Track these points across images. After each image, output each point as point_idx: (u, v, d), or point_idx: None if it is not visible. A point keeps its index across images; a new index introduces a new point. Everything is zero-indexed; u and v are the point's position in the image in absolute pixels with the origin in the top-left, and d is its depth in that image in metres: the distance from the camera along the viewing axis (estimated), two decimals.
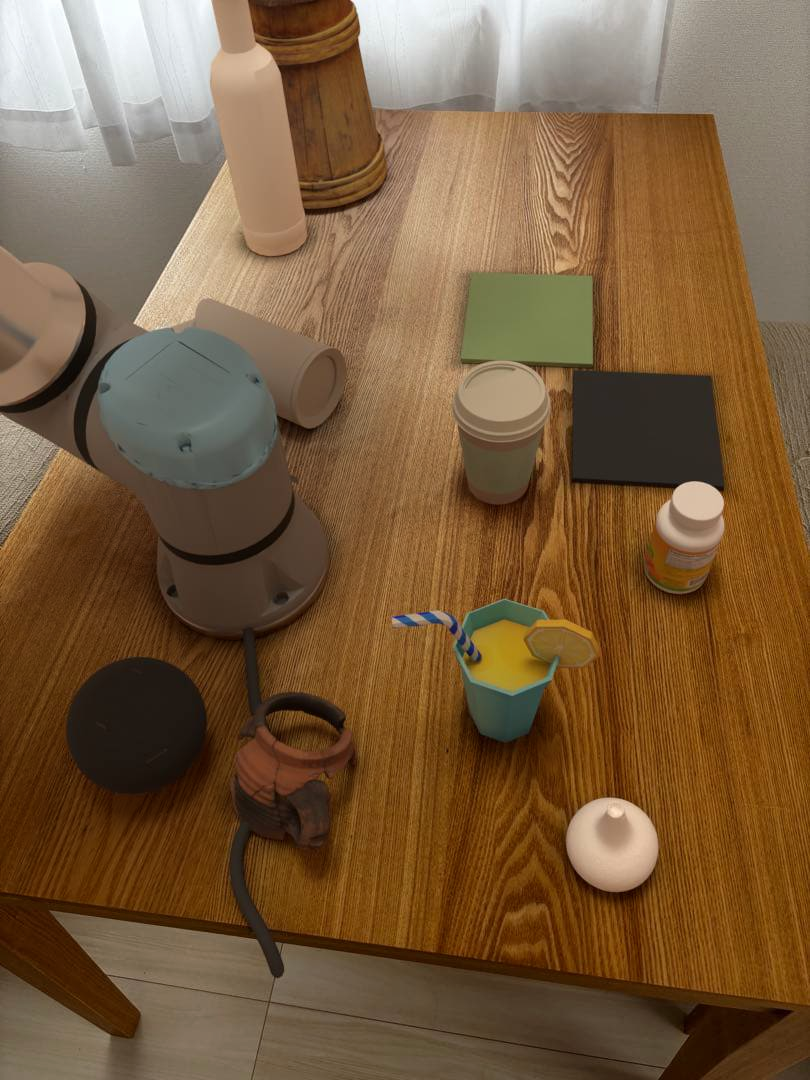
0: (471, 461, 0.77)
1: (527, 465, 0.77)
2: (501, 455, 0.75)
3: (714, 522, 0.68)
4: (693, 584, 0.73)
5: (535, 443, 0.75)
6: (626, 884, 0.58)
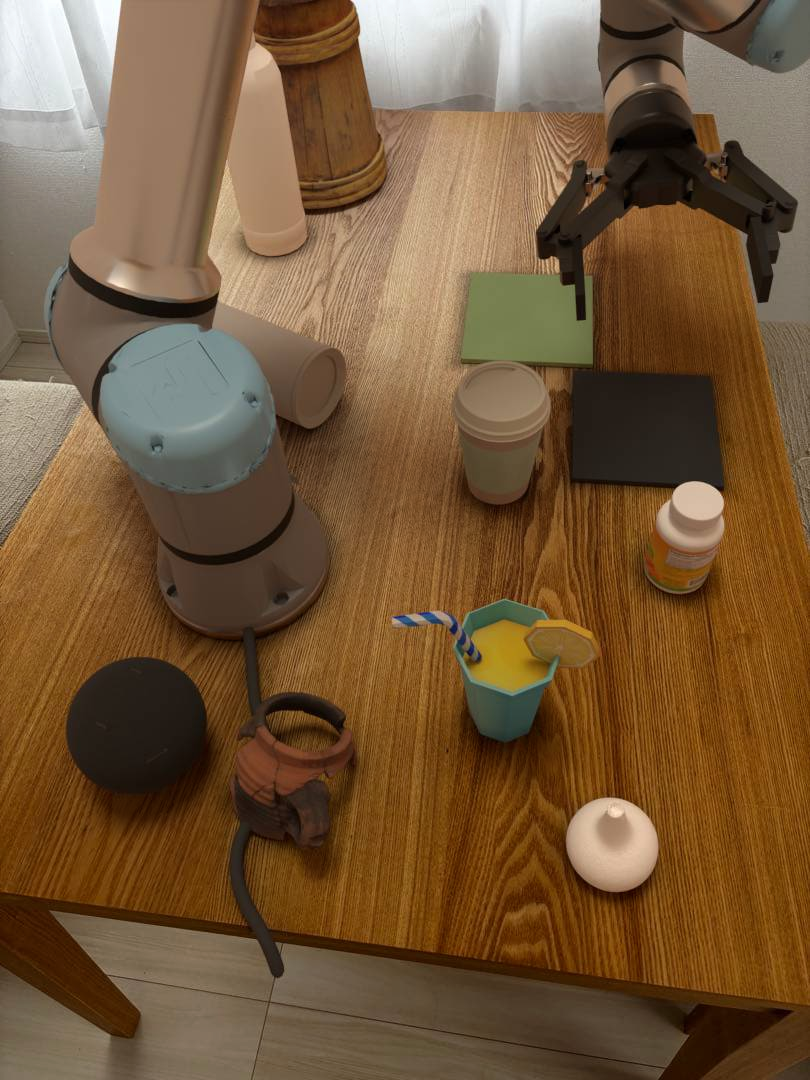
0: (471, 461, 0.77)
1: (527, 465, 0.77)
2: (501, 455, 0.75)
3: (714, 522, 0.68)
4: (693, 584, 0.73)
5: (535, 443, 0.75)
6: (626, 884, 0.58)
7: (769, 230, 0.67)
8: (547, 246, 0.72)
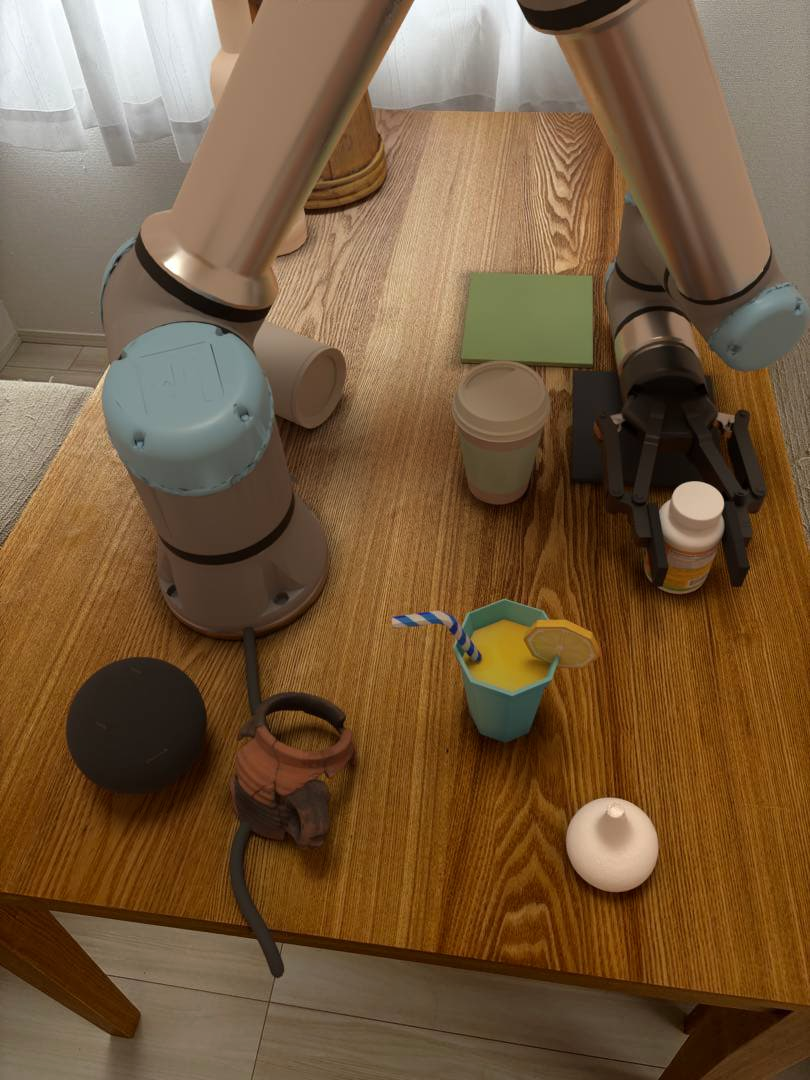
0: (471, 461, 0.77)
1: (527, 465, 0.77)
2: (501, 455, 0.75)
3: (714, 522, 0.68)
4: (693, 584, 0.73)
5: (535, 443, 0.75)
6: (626, 884, 0.58)
7: (741, 516, 0.70)
8: None
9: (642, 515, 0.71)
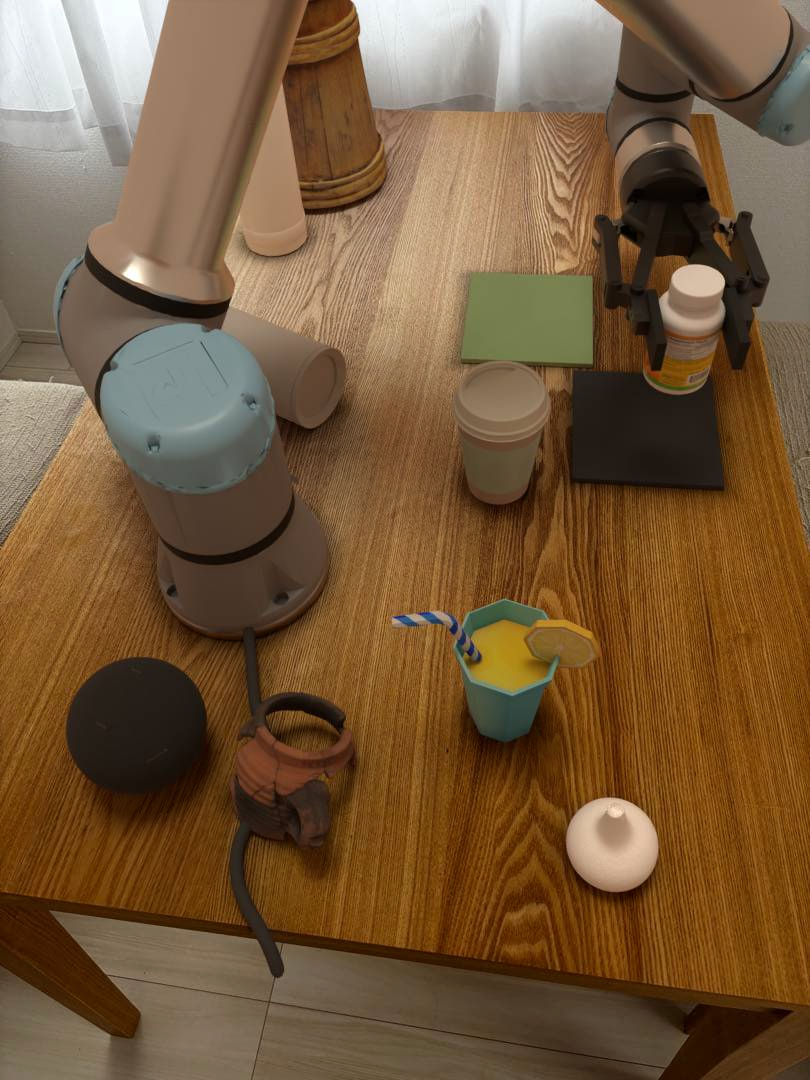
0: (471, 461, 0.77)
1: (527, 465, 0.77)
2: (501, 455, 0.75)
3: (714, 301, 0.66)
4: (693, 381, 0.71)
5: (535, 443, 0.75)
6: (626, 884, 0.58)
7: (743, 302, 0.68)
8: (621, 294, 0.70)
9: (641, 303, 0.69)
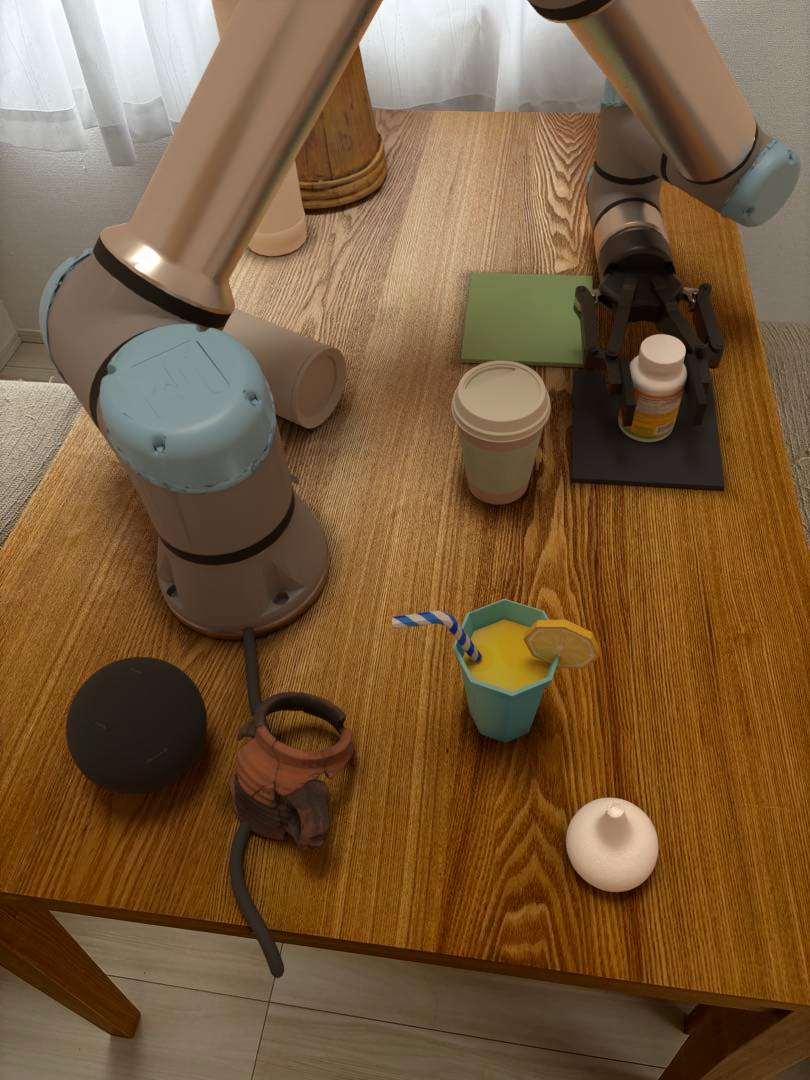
0: (471, 461, 0.77)
1: (527, 465, 0.77)
2: (501, 455, 0.75)
3: (677, 367, 0.77)
4: (661, 431, 0.83)
5: (535, 443, 0.75)
6: (626, 884, 0.58)
7: (702, 366, 0.80)
8: (598, 358, 0.82)
9: (614, 367, 0.80)
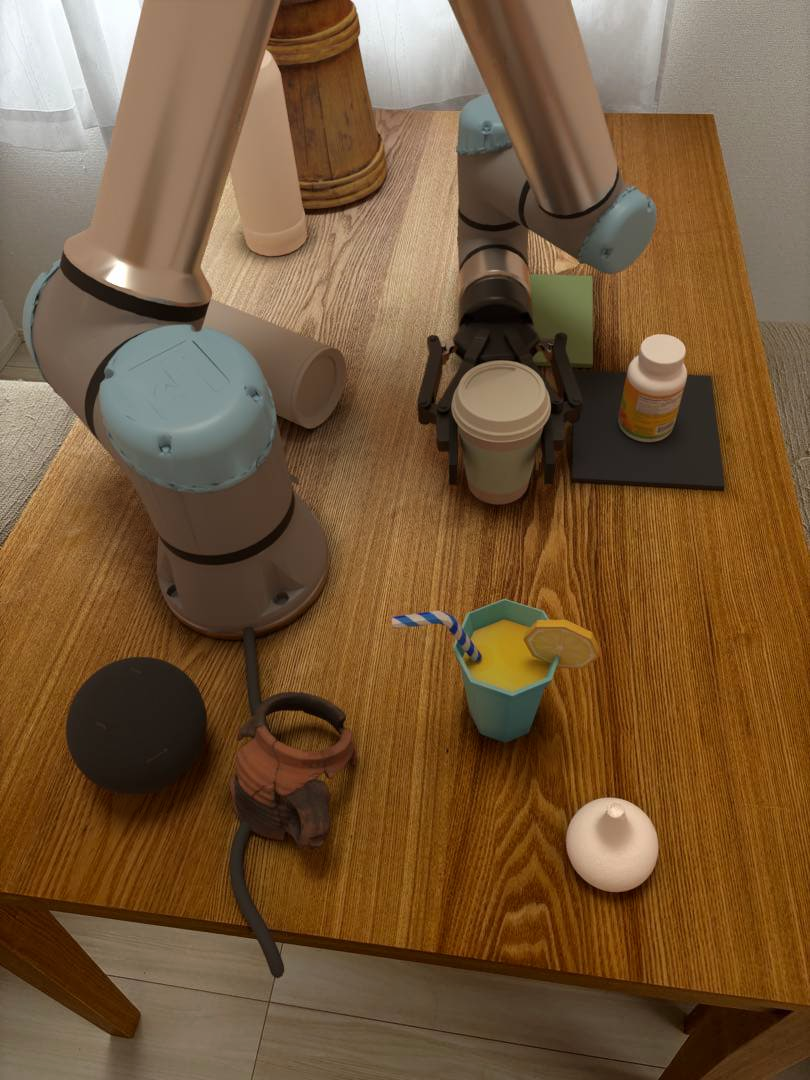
0: (471, 461, 0.77)
1: (527, 465, 0.77)
2: (501, 455, 0.75)
3: (677, 367, 0.77)
4: (661, 431, 0.83)
5: (535, 443, 0.75)
6: (626, 884, 0.58)
7: (557, 422, 0.77)
8: (429, 413, 0.79)
9: (444, 422, 0.78)
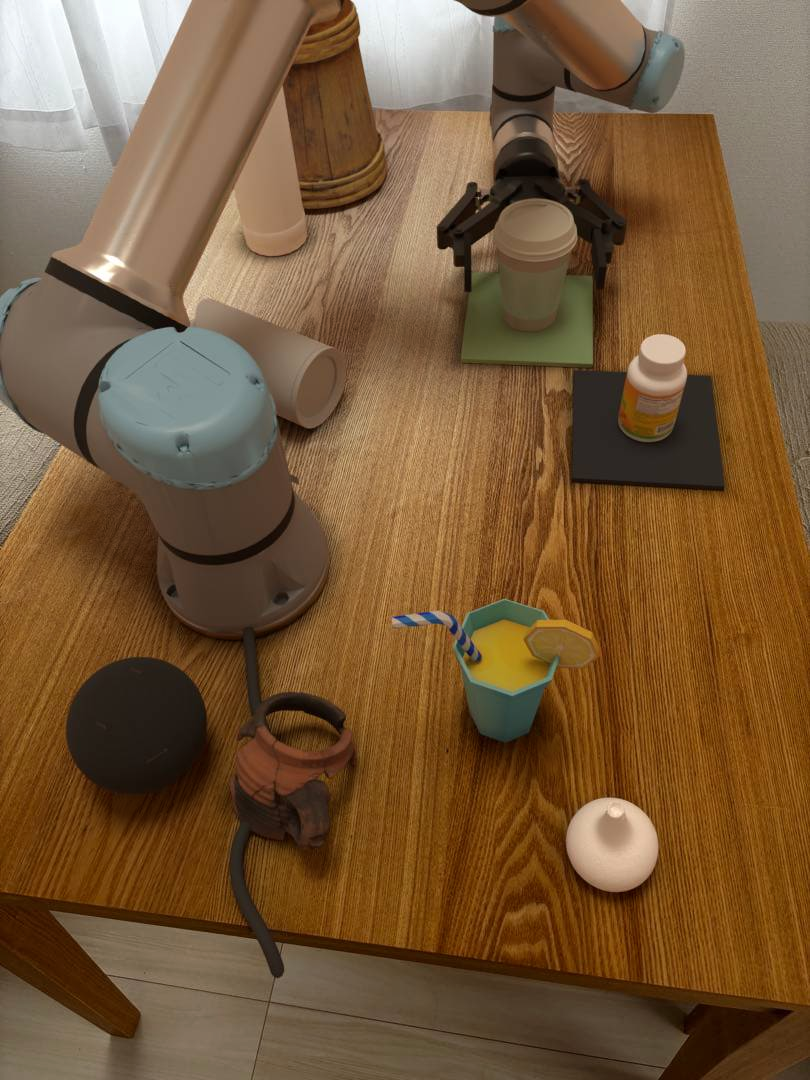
0: (509, 287, 0.91)
1: (556, 290, 0.91)
2: (535, 276, 0.88)
3: (677, 367, 0.77)
4: (661, 431, 0.83)
5: (564, 268, 0.89)
6: (626, 884, 0.58)
7: (606, 239, 0.91)
8: (445, 238, 0.93)
9: (459, 242, 0.92)
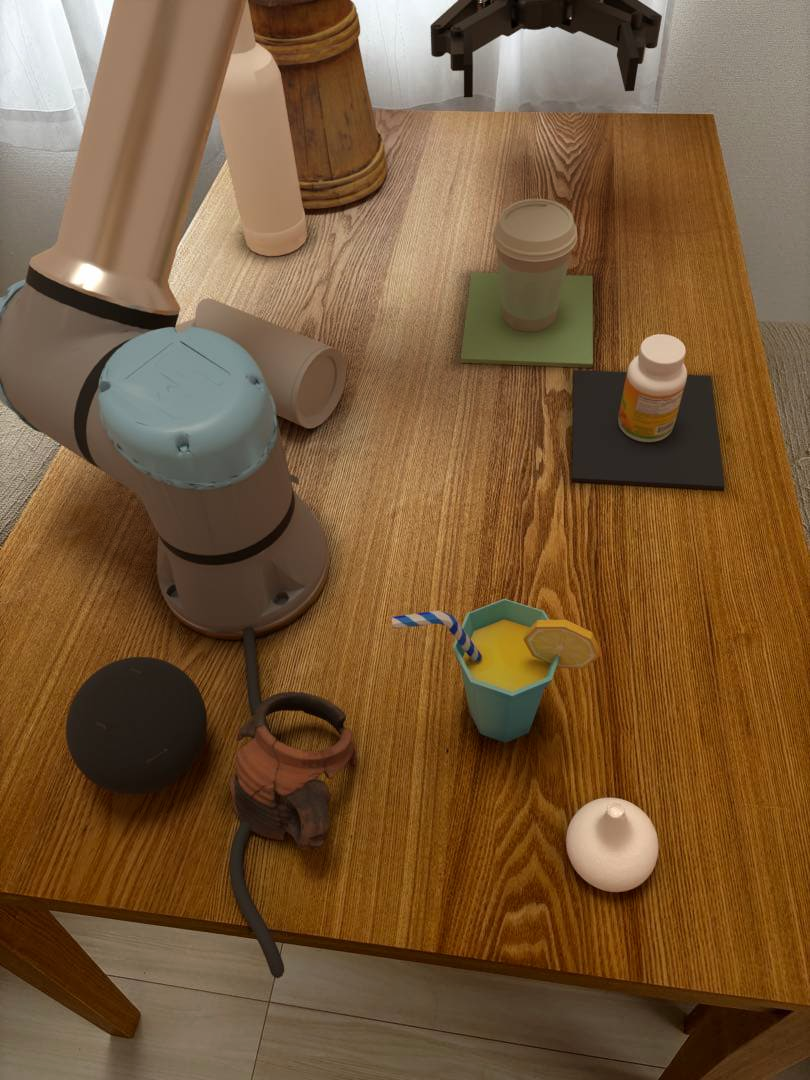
0: (509, 287, 0.91)
1: (556, 290, 0.91)
2: (535, 276, 0.88)
3: (677, 367, 0.77)
4: (661, 431, 0.83)
5: (564, 268, 0.89)
6: (626, 884, 0.58)
7: (636, 35, 0.75)
8: (440, 40, 0.77)
9: (458, 42, 0.76)
